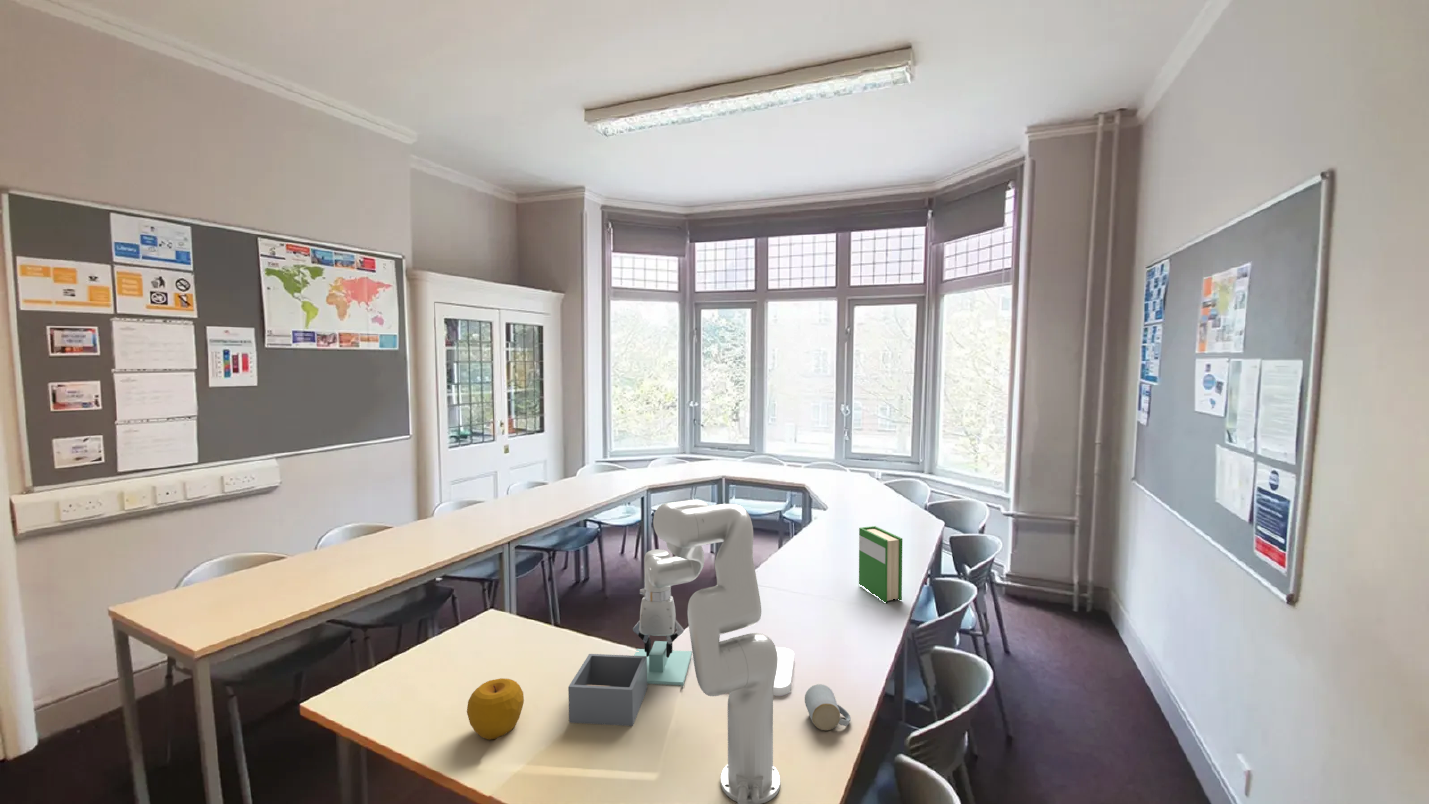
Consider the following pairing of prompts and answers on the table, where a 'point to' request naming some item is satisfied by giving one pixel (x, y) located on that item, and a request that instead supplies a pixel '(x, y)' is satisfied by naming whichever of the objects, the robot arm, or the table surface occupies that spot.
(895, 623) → the table surface
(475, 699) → the apple
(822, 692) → the ceramic mug
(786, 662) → the computer
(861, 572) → the hardback book
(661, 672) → the lid
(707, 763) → the table surface
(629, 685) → the tub
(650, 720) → the table surface
